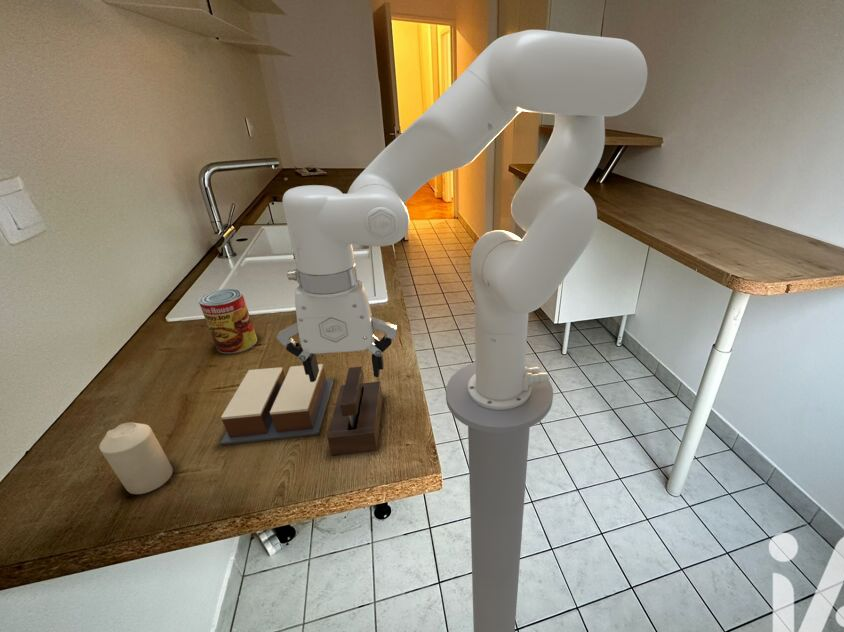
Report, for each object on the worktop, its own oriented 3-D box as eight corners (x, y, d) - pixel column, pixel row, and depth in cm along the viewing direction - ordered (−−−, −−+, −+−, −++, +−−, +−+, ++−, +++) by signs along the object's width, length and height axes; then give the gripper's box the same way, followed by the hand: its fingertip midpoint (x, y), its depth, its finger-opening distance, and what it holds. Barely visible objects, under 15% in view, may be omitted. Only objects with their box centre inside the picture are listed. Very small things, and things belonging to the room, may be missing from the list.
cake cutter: (356, 406, 77) (348, 367, 72) (369, 405, 77) (362, 366, 73) (349, 446, 68) (339, 405, 64) (363, 444, 69) (354, 403, 64)
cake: (334, 381, 83) (329, 360, 80) (318, 434, 70) (312, 412, 68) (252, 388, 80) (244, 367, 77) (221, 445, 67) (211, 422, 65)
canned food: (208, 352, 90) (189, 303, 84) (232, 333, 97) (215, 287, 91) (243, 354, 90) (226, 305, 84) (264, 336, 96) (250, 289, 91)
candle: (161, 491, 59) (132, 442, 54) (117, 497, 58) (83, 447, 53) (180, 462, 64) (154, 414, 59) (139, 467, 63) (110, 418, 58)
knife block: (344, 401, 78) (340, 384, 76) (383, 397, 79) (380, 381, 77) (332, 455, 66) (327, 437, 64) (377, 450, 68) (373, 432, 66)
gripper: (253, 290, 54) (282, 393, 62) (390, 286, 57) (400, 384, 65) (270, 269, 60) (295, 365, 68) (393, 266, 63) (402, 358, 72)
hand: (346, 374), depth 67 cm, fingers open, 9 cm apart
